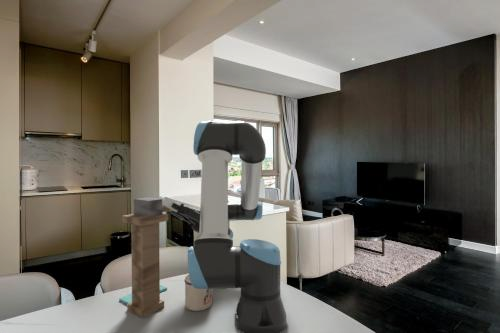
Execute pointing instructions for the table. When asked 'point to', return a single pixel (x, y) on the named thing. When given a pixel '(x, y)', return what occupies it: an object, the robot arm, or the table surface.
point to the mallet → (149, 207)
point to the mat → (128, 298)
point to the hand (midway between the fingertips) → (161, 200)
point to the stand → (145, 263)
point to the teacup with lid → (196, 297)
